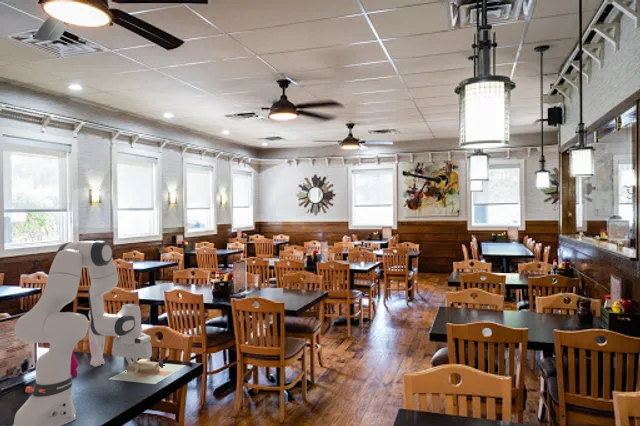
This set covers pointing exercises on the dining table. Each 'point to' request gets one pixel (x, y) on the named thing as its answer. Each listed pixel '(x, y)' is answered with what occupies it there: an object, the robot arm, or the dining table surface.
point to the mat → (149, 375)
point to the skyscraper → (96, 347)
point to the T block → (143, 367)
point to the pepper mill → (73, 365)
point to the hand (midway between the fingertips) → (132, 366)
